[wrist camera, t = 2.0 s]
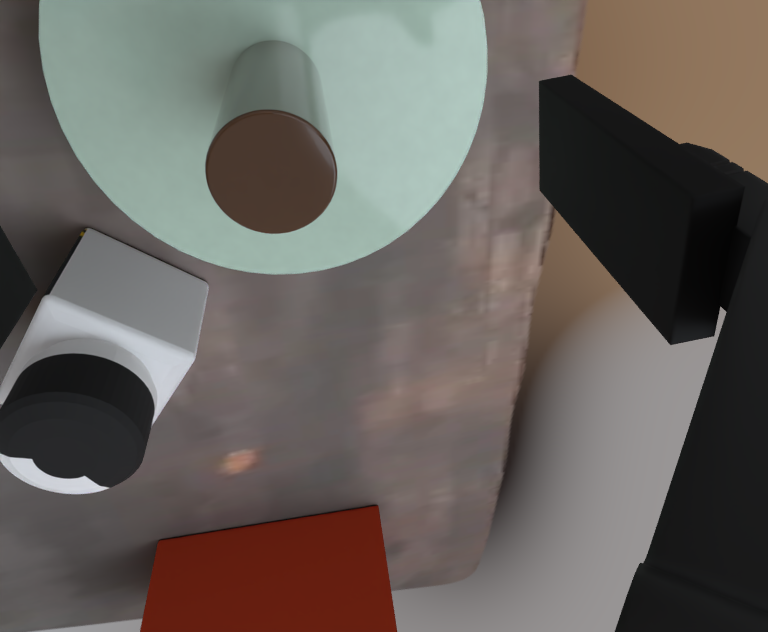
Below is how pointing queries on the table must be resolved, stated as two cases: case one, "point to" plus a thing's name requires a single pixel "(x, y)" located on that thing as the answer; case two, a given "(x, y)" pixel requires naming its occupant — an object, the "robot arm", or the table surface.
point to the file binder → (275, 578)
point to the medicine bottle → (98, 366)
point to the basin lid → (268, 118)
